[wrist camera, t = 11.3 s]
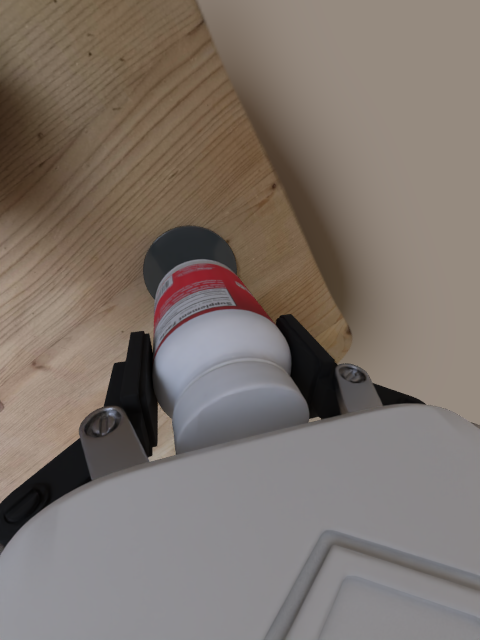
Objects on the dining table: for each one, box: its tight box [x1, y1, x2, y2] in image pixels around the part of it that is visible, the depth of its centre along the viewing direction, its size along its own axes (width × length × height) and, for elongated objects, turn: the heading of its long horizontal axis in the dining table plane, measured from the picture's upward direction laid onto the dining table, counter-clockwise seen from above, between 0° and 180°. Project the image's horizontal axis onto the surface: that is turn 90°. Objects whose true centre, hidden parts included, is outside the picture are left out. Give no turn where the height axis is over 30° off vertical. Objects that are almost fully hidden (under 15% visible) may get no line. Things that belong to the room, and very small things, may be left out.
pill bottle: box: [152, 259, 309, 455], centre depth 13 cm, size 6×6×11 cm
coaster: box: [143, 226, 237, 299], centre depth 22 cm, size 8×8×1 cm
